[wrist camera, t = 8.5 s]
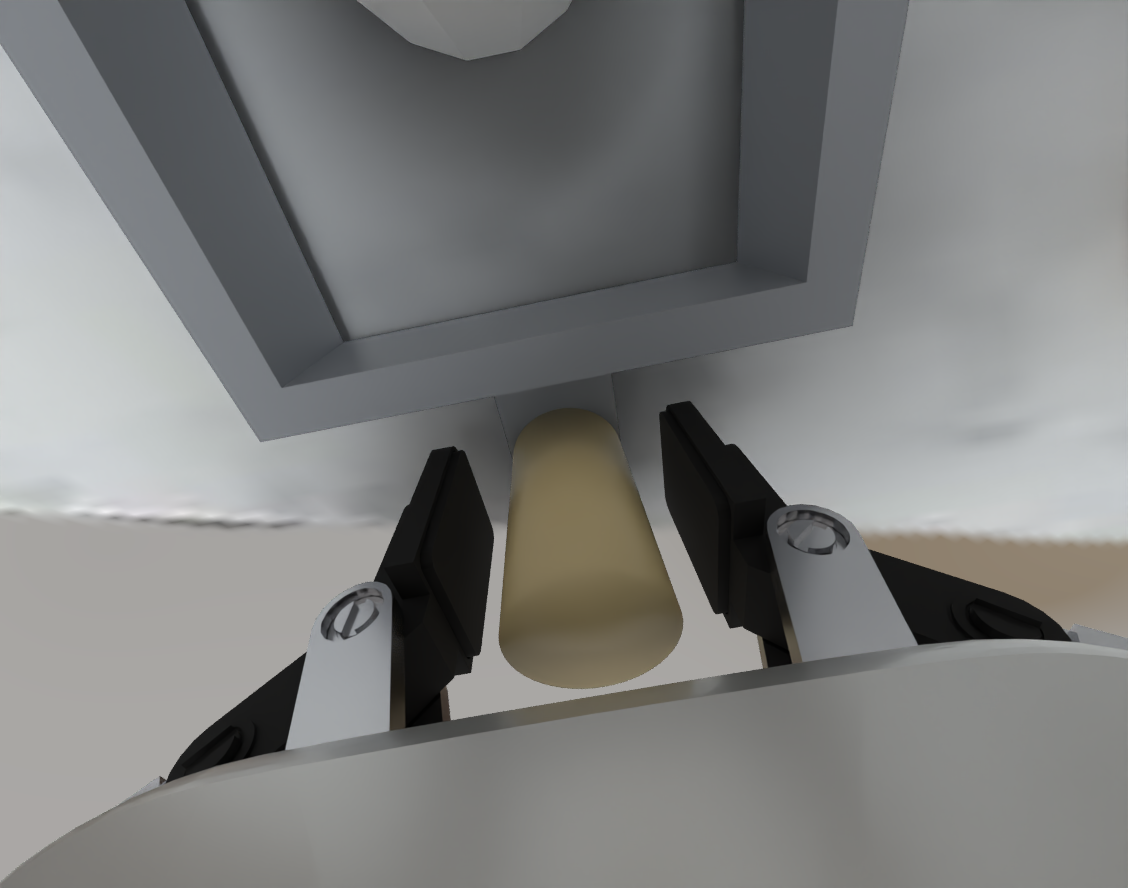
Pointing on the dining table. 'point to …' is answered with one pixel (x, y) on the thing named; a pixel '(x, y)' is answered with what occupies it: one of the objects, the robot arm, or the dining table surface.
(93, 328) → the dining table surface
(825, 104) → the slider
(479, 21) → the white cylinder
